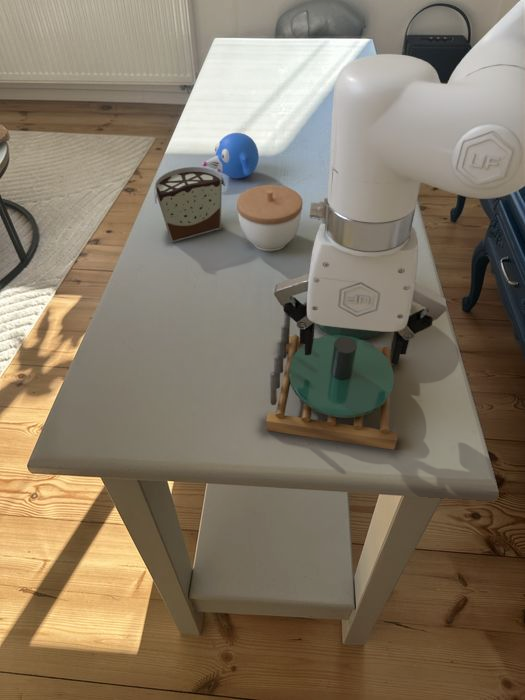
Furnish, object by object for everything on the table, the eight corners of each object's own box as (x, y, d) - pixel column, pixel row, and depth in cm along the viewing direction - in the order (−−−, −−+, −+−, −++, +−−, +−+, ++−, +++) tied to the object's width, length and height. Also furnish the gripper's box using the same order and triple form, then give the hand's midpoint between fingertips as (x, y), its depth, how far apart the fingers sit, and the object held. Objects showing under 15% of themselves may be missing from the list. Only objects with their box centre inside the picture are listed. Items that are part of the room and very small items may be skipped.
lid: (392, 347, 62) (401, 313, 58) (392, 428, 54) (402, 395, 50) (296, 335, 64) (298, 302, 60) (281, 412, 56) (281, 379, 51)
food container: (215, 210, 91) (210, 159, 84) (228, 226, 88) (224, 174, 80) (153, 227, 88) (142, 175, 80) (163, 244, 84) (153, 192, 77)
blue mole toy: (193, 172, 102) (188, 131, 96) (244, 159, 105) (242, 119, 99) (216, 198, 94) (212, 156, 88) (269, 183, 98) (269, 142, 92)
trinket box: (247, 264, 80) (245, 214, 73) (233, 229, 87) (229, 180, 80) (309, 253, 82) (312, 203, 75) (289, 219, 89) (291, 171, 82)
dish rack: (394, 359, 65) (407, 314, 59) (394, 449, 56) (409, 407, 49) (284, 345, 67) (286, 300, 61) (266, 430, 58) (265, 387, 52)
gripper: (265, 235, 42) (271, 366, 54) (476, 250, 39) (431, 385, 51) (279, 192, 47) (281, 321, 59) (467, 202, 44) (428, 335, 56)
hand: (351, 351), depth 55 cm, fingers open, 9 cm apart
